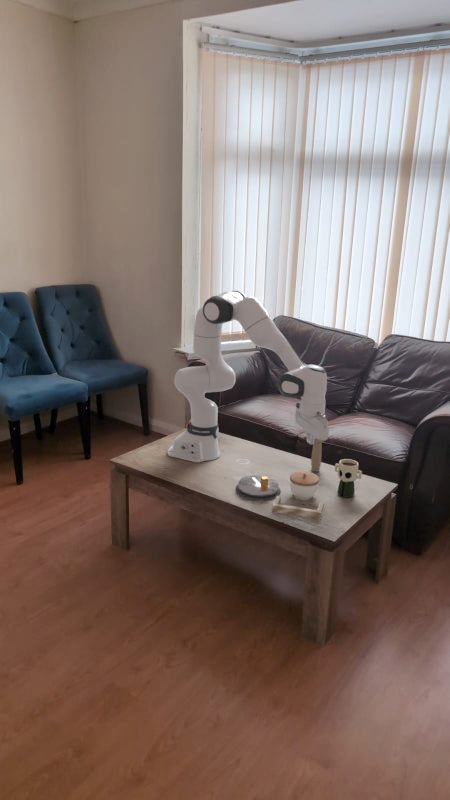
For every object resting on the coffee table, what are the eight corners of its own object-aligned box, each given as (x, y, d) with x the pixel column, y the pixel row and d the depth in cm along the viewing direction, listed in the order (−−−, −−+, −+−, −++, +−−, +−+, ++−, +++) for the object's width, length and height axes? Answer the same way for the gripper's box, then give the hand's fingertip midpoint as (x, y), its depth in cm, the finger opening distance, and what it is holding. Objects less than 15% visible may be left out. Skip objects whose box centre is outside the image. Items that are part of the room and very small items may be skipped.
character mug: (328, 493, 232) (331, 461, 228) (337, 487, 238) (340, 455, 234) (354, 502, 226) (357, 469, 222) (363, 495, 231) (366, 463, 227)
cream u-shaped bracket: (272, 511, 217) (272, 505, 216) (276, 501, 224) (276, 495, 223) (320, 519, 212) (320, 513, 212) (323, 509, 220) (323, 502, 219)
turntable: (232, 482, 237) (233, 465, 234) (268, 478, 241) (269, 462, 239) (246, 499, 223) (247, 482, 221) (284, 495, 228) (285, 477, 226)
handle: (319, 474, 248) (322, 439, 244) (305, 470, 252) (308, 435, 247) (325, 471, 252) (328, 436, 247) (311, 466, 255) (314, 432, 251)
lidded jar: (294, 504, 223) (296, 480, 220) (284, 491, 233) (286, 468, 230) (322, 501, 225) (324, 478, 222) (311, 489, 235) (313, 466, 232)
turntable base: (230, 496, 227) (230, 495, 227) (241, 478, 242) (241, 477, 242) (275, 503, 222) (275, 503, 222) (284, 484, 238) (284, 483, 238)
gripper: (334, 416, 221) (331, 452, 225) (307, 400, 239) (305, 433, 243) (318, 417, 219) (315, 454, 223) (293, 401, 237) (291, 434, 241)
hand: (310, 443), depth 233 cm, fingers closed
